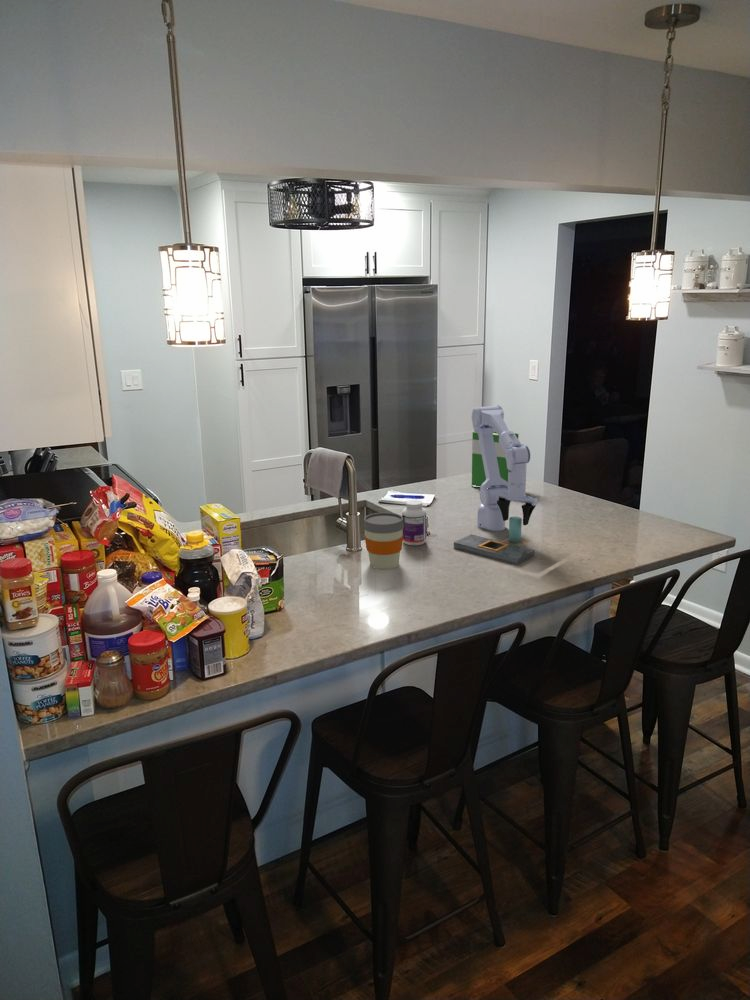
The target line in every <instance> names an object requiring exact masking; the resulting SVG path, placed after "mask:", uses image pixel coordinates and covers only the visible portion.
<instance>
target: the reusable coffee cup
mask: <svg viewBox="0 0 750 1000" xmlns="http://www.w3.org/2000/svg"><path fill="white" fill-rule="evenodd" d="M403 528H404V522H403V517H402V515H400V514H398V513H395V512H393V513H392V512H377V513H376V512H374V513H371V514H367V515H365V516H364V518H363V530H364V532H365V533H364V540H365V548H366V551H367V552H368V557H369V563H370V567H372V568H374V569H378V570H389V569H390V570H391V569H394V568H396V567H398V566H399V565H400V554H401V551H402V549H403V544H404V542H403V534H402V532H403Z"/></svg>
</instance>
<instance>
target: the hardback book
mask: <svg viewBox="0 0 750 1000" xmlns="http://www.w3.org/2000/svg"><path fill="white" fill-rule="evenodd" d="M513 433H514V432H513ZM514 434H515V435H516V437H517V438H518V439H519V433H514ZM471 440H472V443H471V444H472V448H471V451H472V452H471V453H472V454H471V455H472V456H471V486H472V485H476V486H481V485H482V484H483V483H484V482H485V481H486V476H485V470H484V464H483V459H482V453H481V448H480V442H479V436H478V433H476V432H474V431H473V432H472V438H471ZM493 440H494V445H495V450H496V456H497V461H498V467H499V472H500V477H501V478H502V479H504V480H505V481H507V482H508V469H507V461H506V457H505V454H506V453H505V451H504V449H503V448H502V446H501V444H500V443H499V435H498V434H497V433H496V431H495V432H494V433H493ZM495 488H498V487H495Z"/></svg>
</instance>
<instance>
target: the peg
mask: <svg viewBox="0 0 750 1000" xmlns="http://www.w3.org/2000/svg"><path fill="white" fill-rule="evenodd" d="M508 520H509V521H508V524H509V525H508V537H509V542H511V543H520V542H521V538H522V525H523V517H521V516H510V517H508Z"/></svg>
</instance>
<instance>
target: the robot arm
mask: <svg viewBox="0 0 750 1000" xmlns="http://www.w3.org/2000/svg"><path fill="white" fill-rule="evenodd" d="M504 413H505V412H504V409H503V408H502V406H501V405H499V404H498V405H490V406H489V405H488V406H474V408H473V409H472V412H471V421H472V427H473V432H476V433H478V436H479V442H480V448H481V453H482V459H483V464H484V470H485V476H486V481H485V482H484V483H483V484H482V485H481V486H480V488H479V491H480V493H479V499H480V503H481V504H480V505H479V507H478V509H477V523H476V525H477V527H478V528H481V529H485V530H488V531H492V532H499V531H504V530H505V529H506V522H507V521H508V520H509V518H510V517H509V516H510V514H509V513H510V512H509V511H510V505H511V502H517V503H521V504H523V505H521V510H522V525H523V526H527V525H529V522H530V519H531V516H532V513H533V511H534V509H535V508H536V506H537V505H538V498H535V497H533V496H529V495H526V487H527V483H526V482H527V464H529V462H530V460H531V451H530V448H529V446H528V445H526V444H525V445H524V444H522V442H520V440H519V437H518V438H517V437H516V435H515V434H514V432H513V431H511V430H509V428H508V427H507V424H506V423H505V420H504V418H505V417H504V416H505V414H504ZM495 431H496V433H497V434H498V435H499V443H500V444H501V446H502V448H503V449H504V451H505V453H506V454H505V457H506V461H507V469H508V482H507V481H505V480H504V479H502V478H501V477H500V472H499V467H498V461H497V456H496V450H495V445H494V440H493V433H494V432H495ZM495 487H498V488H495ZM487 488H488V489H487Z"/></svg>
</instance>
